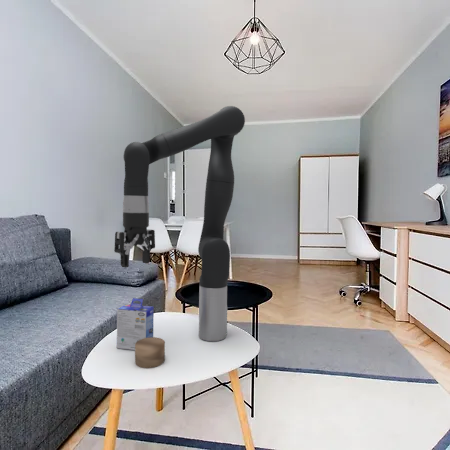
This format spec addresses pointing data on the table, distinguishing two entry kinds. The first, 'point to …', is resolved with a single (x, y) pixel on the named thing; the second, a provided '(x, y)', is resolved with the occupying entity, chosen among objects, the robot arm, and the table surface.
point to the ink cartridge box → (134, 324)
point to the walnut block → (149, 352)
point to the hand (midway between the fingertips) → (135, 265)
